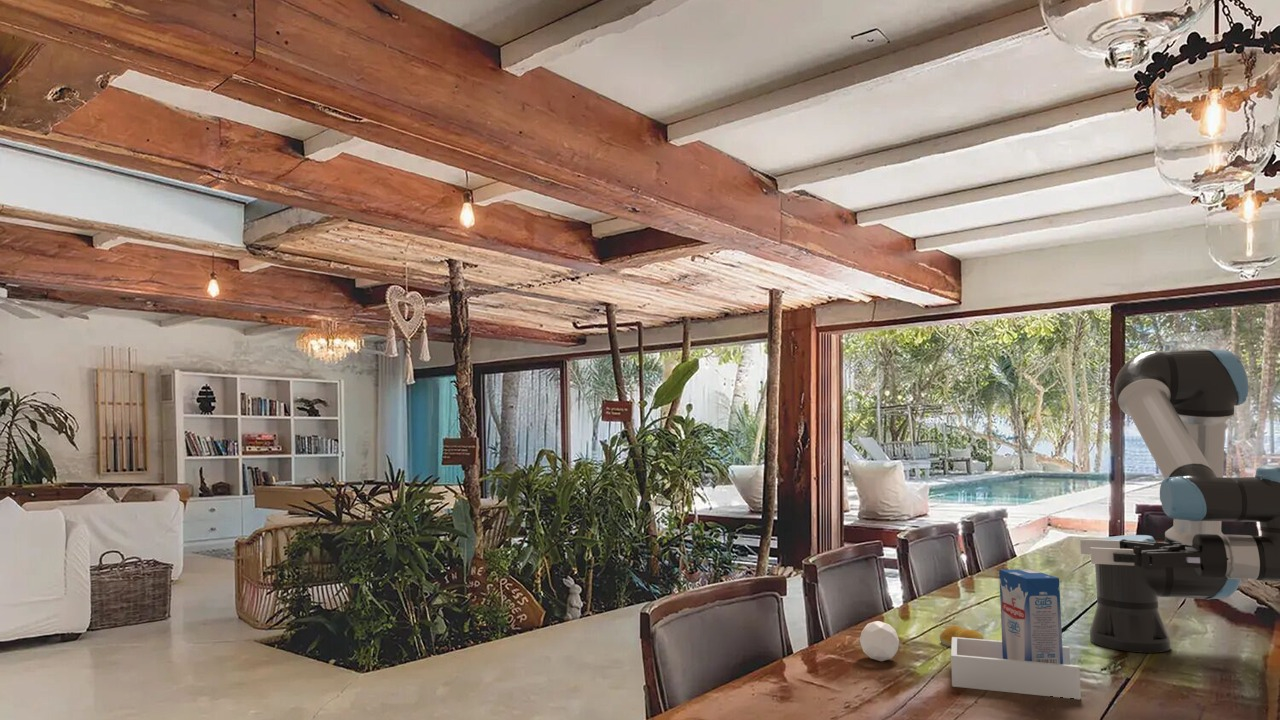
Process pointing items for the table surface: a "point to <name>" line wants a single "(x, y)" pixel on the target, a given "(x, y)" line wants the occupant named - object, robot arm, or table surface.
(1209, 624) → the table surface
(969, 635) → the bread roll
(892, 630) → the geometric ball
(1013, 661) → the plastic channel
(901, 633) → the table surface
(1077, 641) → the table surface
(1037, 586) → the milk carton
